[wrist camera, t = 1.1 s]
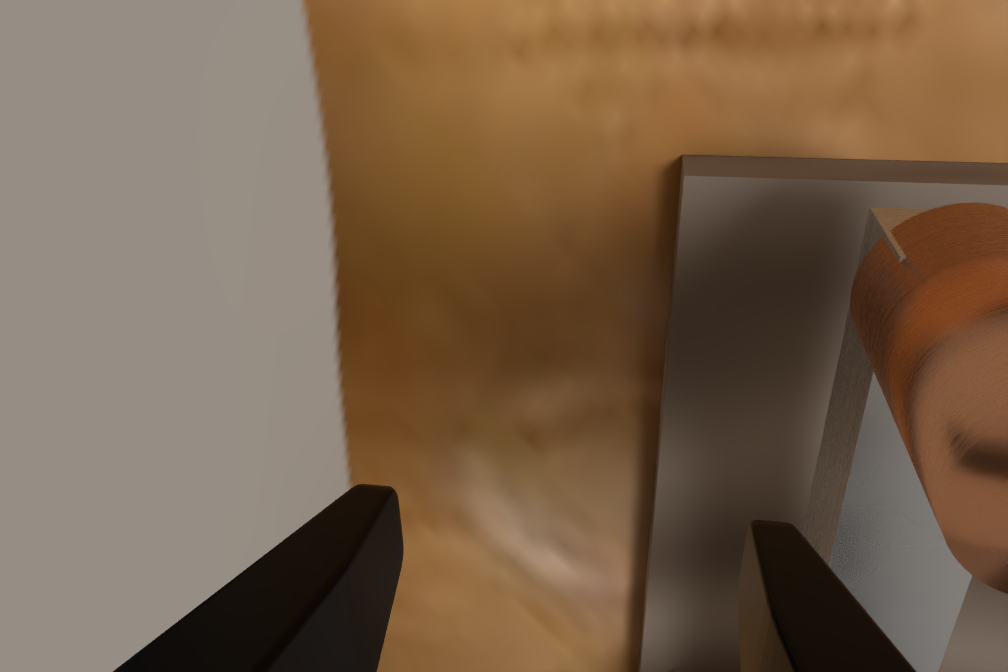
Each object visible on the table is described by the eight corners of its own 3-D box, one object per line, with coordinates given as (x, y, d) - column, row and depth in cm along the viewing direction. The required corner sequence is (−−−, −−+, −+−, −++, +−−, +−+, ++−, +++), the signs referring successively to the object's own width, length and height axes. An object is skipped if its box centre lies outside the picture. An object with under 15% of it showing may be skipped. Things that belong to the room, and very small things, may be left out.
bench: (1175, 811, 28) (1281, 1007, 23) (631, 739, 30) (626, 901, 26) (1587, 179, 17) (1950, 303, 12) (682, 154, 19) (689, 248, 15)
